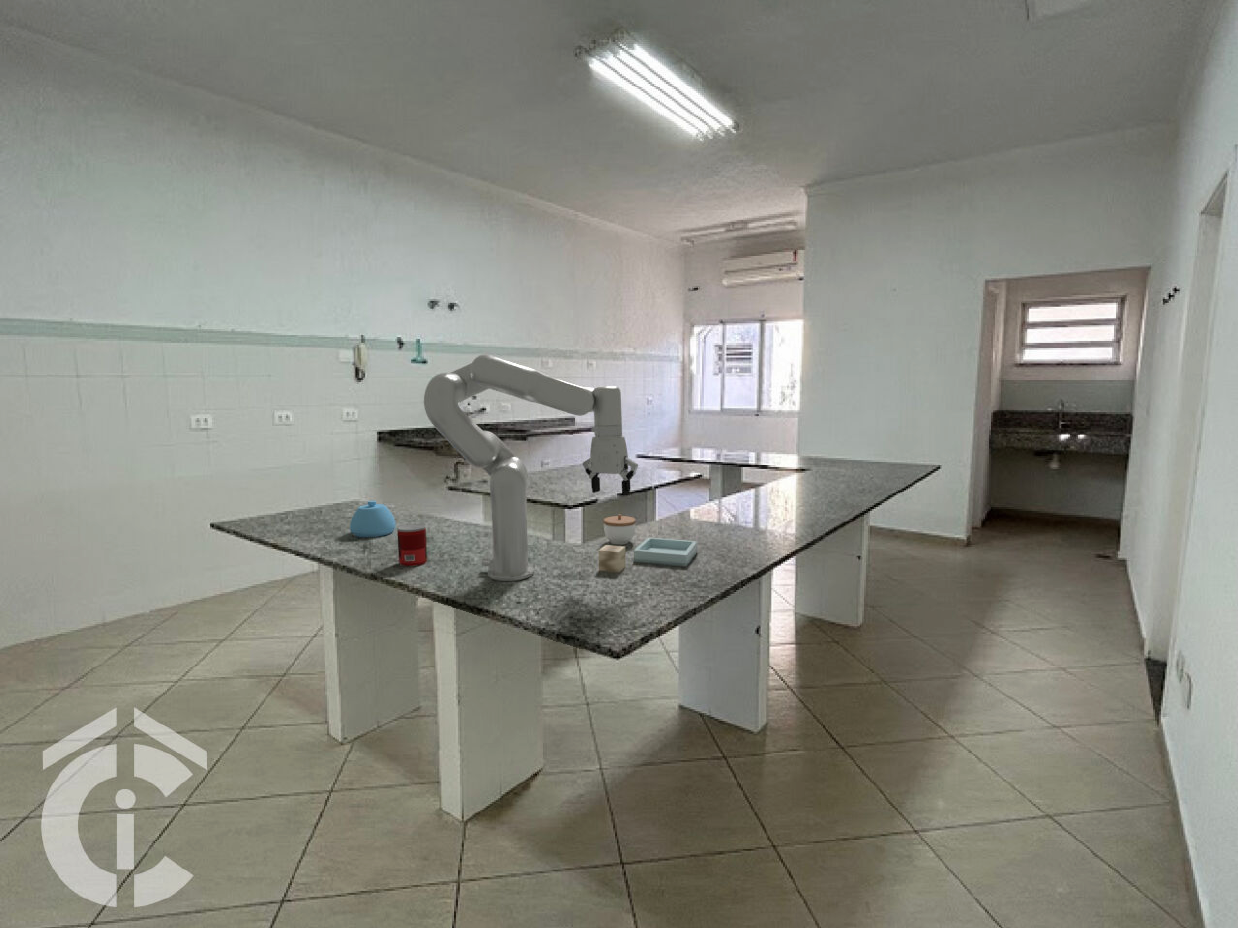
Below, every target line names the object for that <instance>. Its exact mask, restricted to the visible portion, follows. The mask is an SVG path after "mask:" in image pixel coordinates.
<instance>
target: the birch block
mask: <svg viewBox="0 0 1238 928" xmlns="http://www.w3.org/2000/svg"><path fill="white" fill-rule="evenodd" d="M624 568H626V546H621V545H609V544H605V545H603V546H602V547H601V548H600V549H598V571H601V572H609V573H620V572H621V571H623V569H624Z"/></svg>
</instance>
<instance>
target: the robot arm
mask: <svg viewBox="0 0 1238 928" xmlns="http://www.w3.org/2000/svg"><path fill="white" fill-rule="evenodd" d="M489 389H490V390H492V391H496V392H500V393H503V394H506V395H509V396H513V397H515V398H517V399H521V400H524V401H527V402H530V403H535V404H540V405H543V406H546V407H549V408H552V409H555V410H557V411H561V412H564V413H568V414H570V415H573V416H577V417H578V416H585V415H588V414H589V413H593V417H594V418H593V420H594V421H593V422H594V426H593V427H591V429H590V430H591V432H592V433H594V436H592V438H591V442H590V453H589V454H590V455H589V458H588V459H586V460H585V461H583V462H582V466H583V468H584V469H585V471H584V472H585V473H586V475H588V477H589V479H590V483H591V485H590V486H591V493H593V494H595V493H598V492H600V491H601V478H600V476H599V475H600V474H607V475H609V474H610V475H617V474H619V475H620V477H621V478H622V480H621V495H623V496H626V495H629V494H630V492H631V479H633V477H634V476H635V475H636V473H637V470H638V468H639V464H638V463H636V462H635V461H633V460H632V459H630V458H629V454H628V447H627V443H626V439H625V436H624V435H623V422H622V420H623V419H622V398H621V397H622V396H621V395H622V394H621V389H620V388H619V387H618V386H615V385H614V386H613V385H612V386H610V385H609V386H606V385H605V386H597V387H586V386H579V385H576V384H573V383H570V382H566V381H563V380H561V379H557V378H554V377H552V376H549V375H547V374H544V373H543V372H541V371H539V370H537V369H534V368H531V367H528V366H525V365H521V364H517V363H515V362H511V361H509V360H505V359H502V358H500V357H496V356H494V355H490V354H481V355H478V356H477V357H475V358H474V359H473V361H472V362H471V363H469V364H467V365H465V366H462V367H460V368H457V369H455V370H454V371H451V372H442V373H438V374H436V375H434V376H433V377H432V378H431V379H430V380H429V382H428V383H427V385H426V388H425V390H424V394H423V406H424V410H425V414H426V416H427V418H428V420H429V421H430V423H431V425H432V426H433V427H434V428H435V429H436V430H437V431H438V432H439V433H440V434H441V435H442V437H444V439H445V440H446V441H447V442H448V443H450V445H451V446H452V447H453V448H454V449H455V450H456V451H457V452H458V453H459V454H460V455H461V456H462V457H463V459H465V461H467V463H469V465H471V466H472V467H475V468H479V469H482V470H484V472H485V473H487V474H488V475H489V477H490V478H489V493H490V494H489V495H490V503H491V504H490V505H491V526H492V527H491V530H492V532H491V533H492V557H489V556H483V557H482V561H481V566H485V567H489V569H488V570H487V576H488V578H490V579H492V580H494V581H495V580H496V581H499V582H503V581H504V582H513V581H519V580H521V581H522V580H525V579H528V578H531V577H532V576H533V575H534V574H535V572H534V571H535V569H534V567H533V566H531V565H529V548H528V546H529V545H528V544H529V543H528V541H529V539H528V511H527V510H528V509H527V508H528V506H527V503H528V502H527V481H528V473H529V472H528V468H527V466H526V465H525V463H524V462H523V461H522V460H521V458H520V457H518V456H517V454H515V453H514V452H513V451H512V449H510V448H509V446H507V445H506V444H505V443H504V442H503V441H502V439H500V438H499V437H498V436H497V435H496V434H494V433H493V432H492V431H488V430H483V429H481V427H480V426H478V425H477V423H476V422H474V420H472V418H471V417H470V416H469V415H468V414H467V413H466V412H465V411H464V410H462V408H461V407H460V405H459V403H461V402H464V401H465V400H468V399H470V398H472V397H473V396H476V395H478V394H480V393H483V392H485V391H486V390H489ZM629 467H630V470H629ZM628 470H629V471H628Z"/></svg>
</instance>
